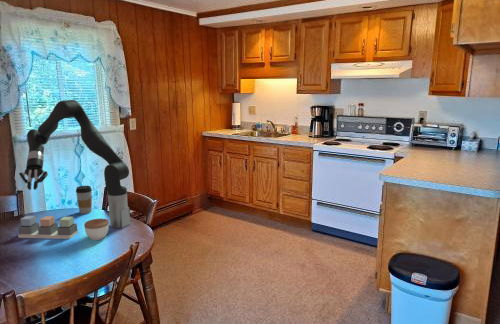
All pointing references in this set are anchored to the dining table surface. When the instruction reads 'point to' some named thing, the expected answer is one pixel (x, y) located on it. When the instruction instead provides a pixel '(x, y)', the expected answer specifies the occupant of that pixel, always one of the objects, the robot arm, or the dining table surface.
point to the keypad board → (47, 231)
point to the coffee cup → (84, 199)
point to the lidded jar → (96, 228)
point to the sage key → (66, 221)
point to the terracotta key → (47, 221)
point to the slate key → (28, 220)
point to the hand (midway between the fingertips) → (32, 189)
